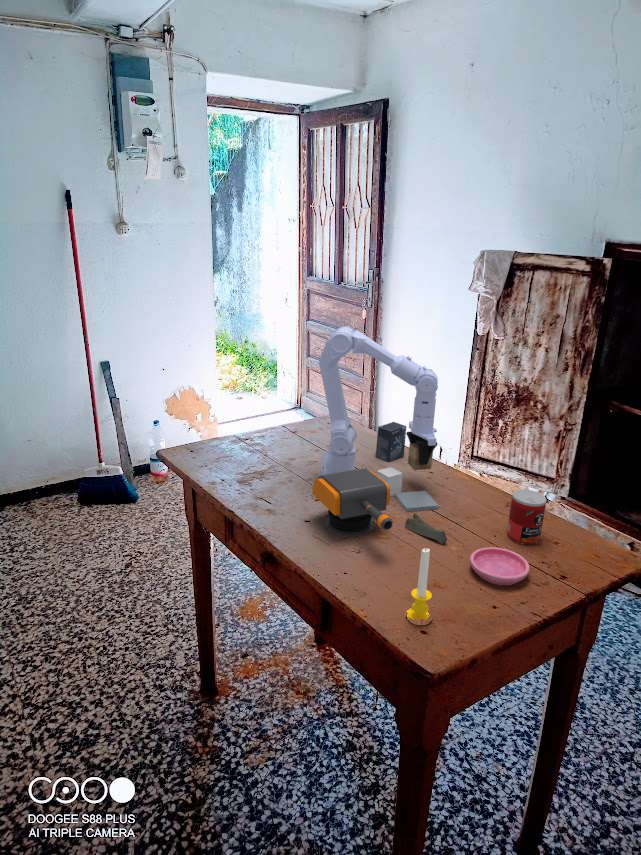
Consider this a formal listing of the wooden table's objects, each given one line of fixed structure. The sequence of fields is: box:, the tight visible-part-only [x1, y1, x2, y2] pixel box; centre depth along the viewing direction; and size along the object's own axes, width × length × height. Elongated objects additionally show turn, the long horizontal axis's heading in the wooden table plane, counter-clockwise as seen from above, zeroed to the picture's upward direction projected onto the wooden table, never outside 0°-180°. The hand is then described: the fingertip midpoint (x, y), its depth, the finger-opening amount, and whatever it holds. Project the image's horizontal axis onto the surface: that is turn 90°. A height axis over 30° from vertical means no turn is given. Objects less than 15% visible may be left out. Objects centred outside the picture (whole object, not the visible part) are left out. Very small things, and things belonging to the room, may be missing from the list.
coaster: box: [394, 490, 439, 513], centre depth 160 cm, size 9×9×1 cm
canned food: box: [506, 489, 547, 545], centre depth 143 cm, size 8×8×11 cm
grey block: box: [376, 466, 403, 497], centre depth 166 cm, size 5×5×6 cm
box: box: [375, 421, 408, 463], centre depth 189 cm, size 8×6×11 cm
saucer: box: [469, 546, 531, 586], centre depth 129 cm, size 12×12×3 cm
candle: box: [406, 547, 433, 620], centre depth 112 cm, size 5×5×16 cm
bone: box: [404, 513, 448, 545], centre depth 144 cm, size 13×5×4 cm, turn 28°
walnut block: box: [407, 442, 434, 471], centre depth 166 cm, size 5×5×6 cm
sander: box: [312, 467, 393, 537], centre depth 142 cm, size 15×25×13 cm, turn 25°
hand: (419, 460), depth 167 cm, fingers closed on walnut block, 5 cm apart
